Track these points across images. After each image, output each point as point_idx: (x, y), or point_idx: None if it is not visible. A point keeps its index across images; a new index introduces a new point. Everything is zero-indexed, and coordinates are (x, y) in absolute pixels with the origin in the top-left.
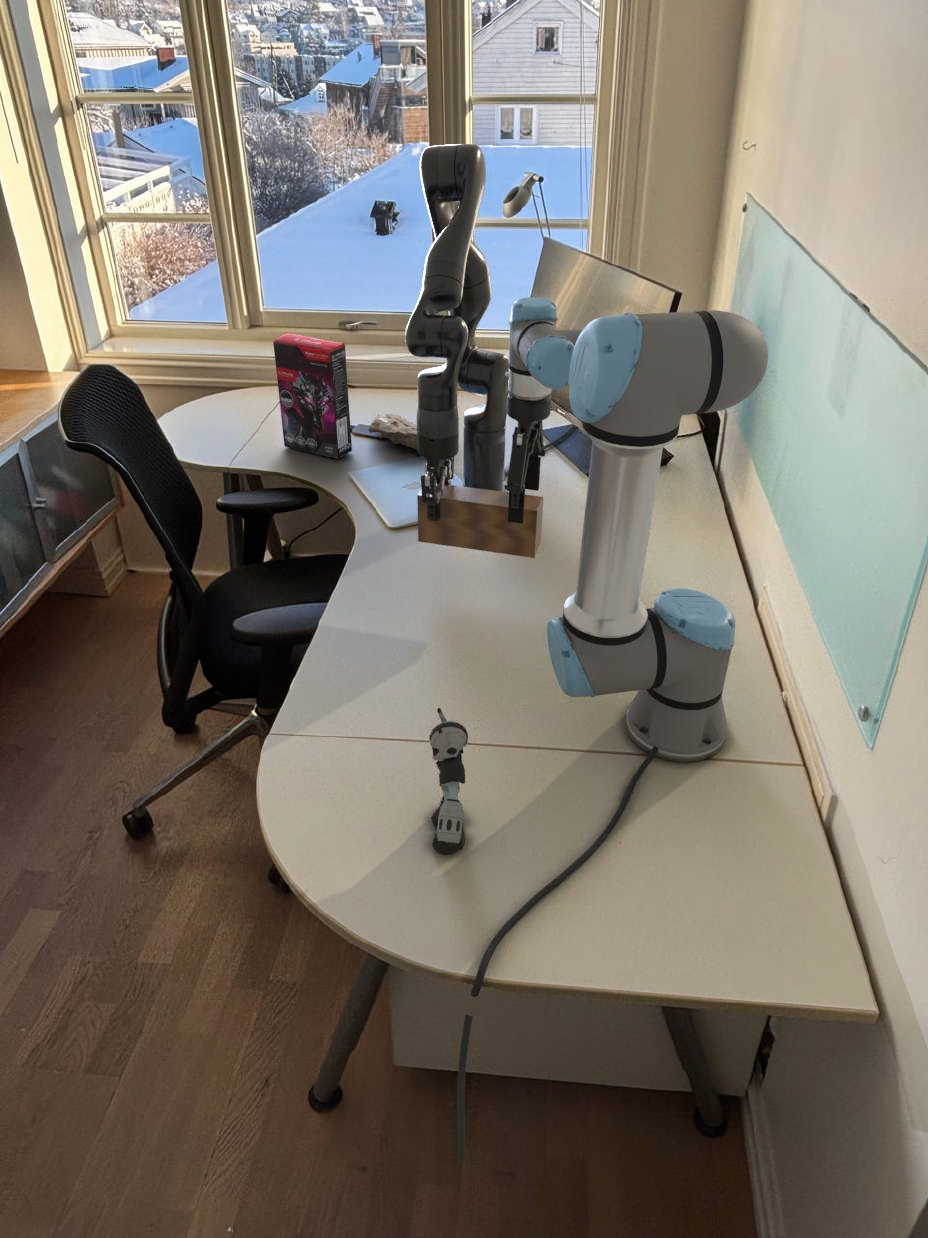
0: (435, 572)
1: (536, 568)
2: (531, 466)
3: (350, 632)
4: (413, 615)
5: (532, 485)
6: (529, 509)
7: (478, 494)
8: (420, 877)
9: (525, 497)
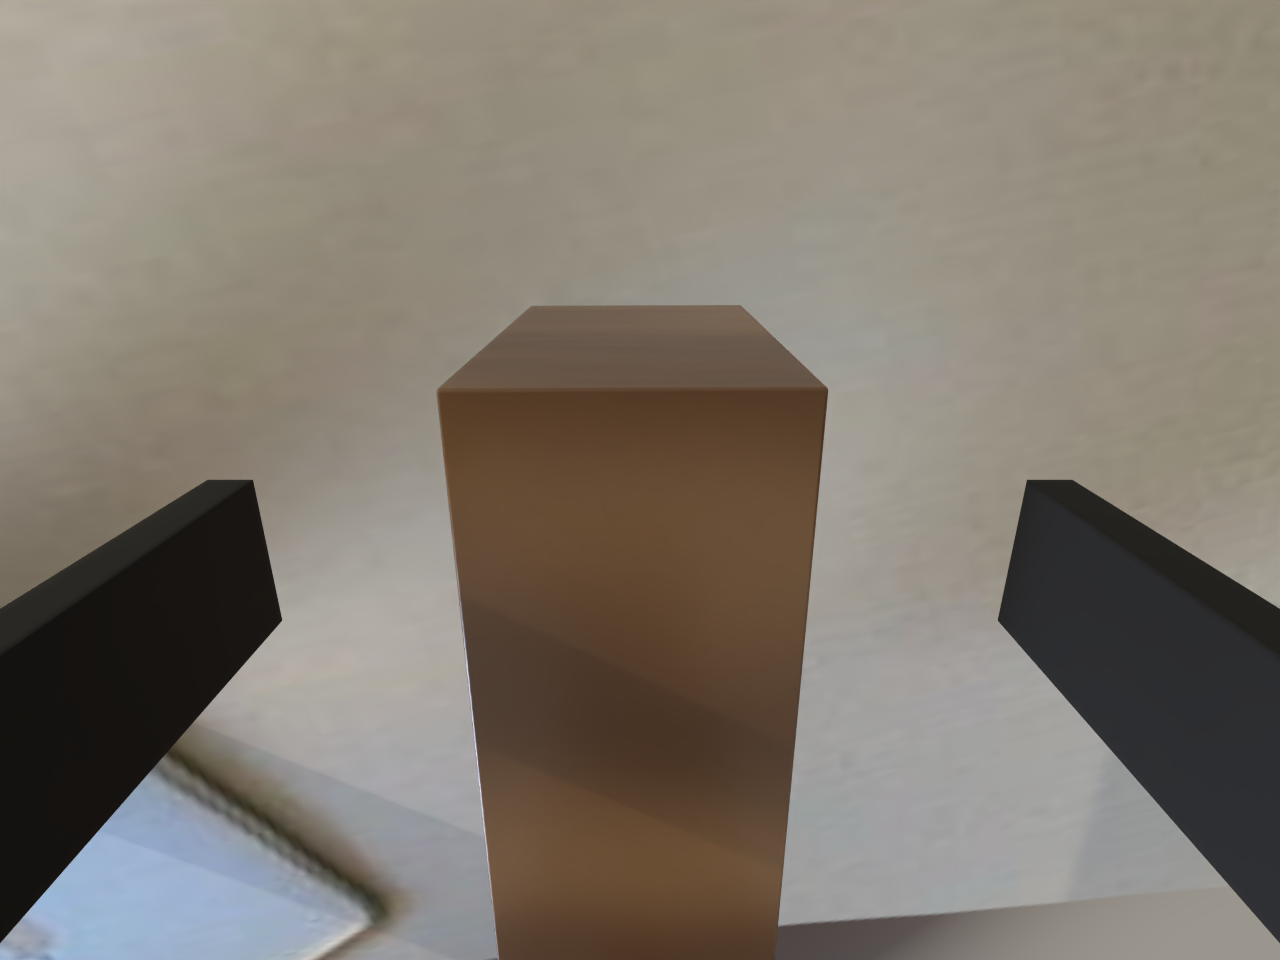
0: None
1: (462, 310)
2: (60, 761)
3: (1097, 839)
4: (968, 697)
5: (237, 566)
6: (811, 478)
7: (610, 940)
8: None
9: (529, 575)
